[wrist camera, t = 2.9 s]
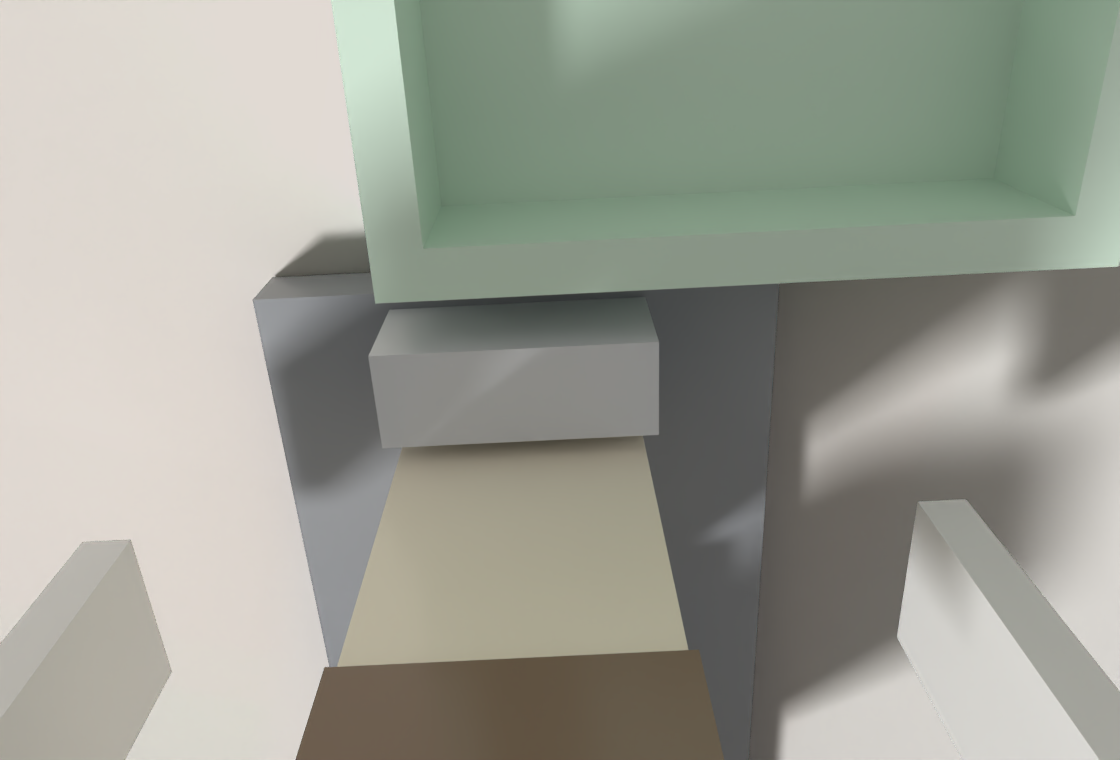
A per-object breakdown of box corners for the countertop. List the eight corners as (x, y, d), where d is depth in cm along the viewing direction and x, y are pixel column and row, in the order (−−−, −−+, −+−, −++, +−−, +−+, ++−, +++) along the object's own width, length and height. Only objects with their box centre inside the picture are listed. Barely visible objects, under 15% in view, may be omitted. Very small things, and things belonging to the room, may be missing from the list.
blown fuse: (641, 578, 17) (728, 1119, 9) (433, 588, 18) (335, 1137, 9) (639, 391, 16) (746, 855, 7) (407, 402, 16) (259, 877, 7)
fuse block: (731, 844, 23) (758, 971, 20) (387, 860, 23) (364, 990, 20) (764, 253, 16) (812, 315, 13) (272, 277, 16) (212, 345, 13)
